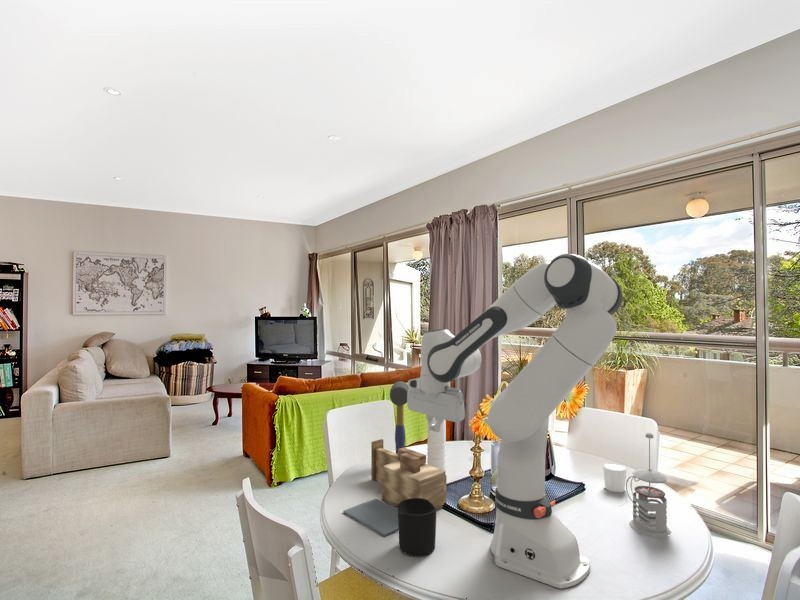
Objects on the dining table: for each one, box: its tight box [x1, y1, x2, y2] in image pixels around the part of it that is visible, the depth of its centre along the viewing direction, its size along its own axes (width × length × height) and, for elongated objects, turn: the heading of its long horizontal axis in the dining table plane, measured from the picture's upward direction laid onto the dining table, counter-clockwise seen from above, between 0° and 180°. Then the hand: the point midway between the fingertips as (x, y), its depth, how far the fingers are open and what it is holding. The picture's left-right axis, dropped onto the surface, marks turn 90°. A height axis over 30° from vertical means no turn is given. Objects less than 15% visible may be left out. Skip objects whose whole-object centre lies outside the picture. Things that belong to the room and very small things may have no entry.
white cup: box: [602, 462, 627, 493], centre depth 146 cm, size 7×7×7 cm
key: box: [398, 446, 427, 465], centre depth 141 cm, size 10×2×2 cm, turn 43°
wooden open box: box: [381, 470, 447, 511], centre depth 135 cm, size 16×11×9 cm
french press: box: [625, 432, 672, 539], centre depth 121 cm, size 10×12×25 cm
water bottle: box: [426, 417, 447, 472], centre depth 161 cm, size 9×6×25 cm
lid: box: [383, 453, 446, 485], centre depth 135 cm, size 16×11×5 cm
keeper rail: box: [370, 438, 400, 483], centre depth 149 cm, size 12×4×13 cm, turn 43°
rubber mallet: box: [389, 380, 410, 454], centre depth 167 cm, size 12×8×30 cm, turn 178°
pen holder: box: [397, 498, 438, 558], centre depth 111 cm, size 9×9×10 cm
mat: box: [342, 498, 399, 538], centre depth 126 cm, size 18×12×1 cm, turn 43°
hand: (434, 430), depth 134 cm, fingers closed
